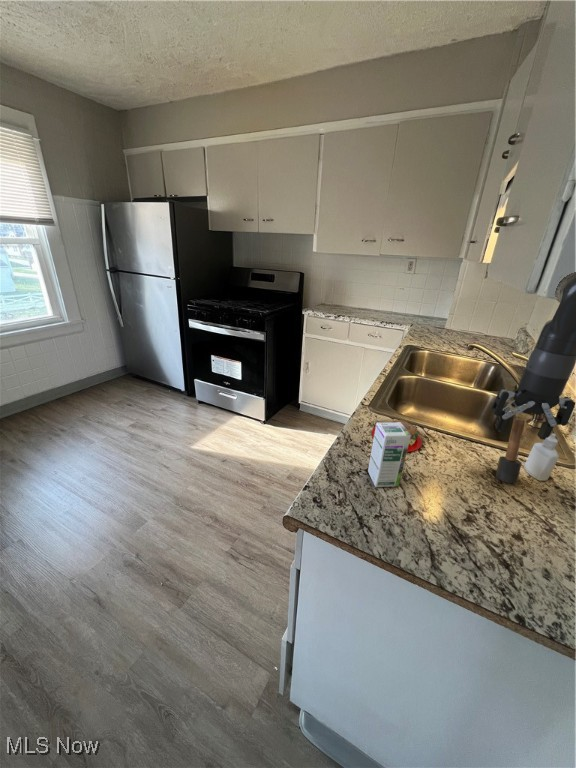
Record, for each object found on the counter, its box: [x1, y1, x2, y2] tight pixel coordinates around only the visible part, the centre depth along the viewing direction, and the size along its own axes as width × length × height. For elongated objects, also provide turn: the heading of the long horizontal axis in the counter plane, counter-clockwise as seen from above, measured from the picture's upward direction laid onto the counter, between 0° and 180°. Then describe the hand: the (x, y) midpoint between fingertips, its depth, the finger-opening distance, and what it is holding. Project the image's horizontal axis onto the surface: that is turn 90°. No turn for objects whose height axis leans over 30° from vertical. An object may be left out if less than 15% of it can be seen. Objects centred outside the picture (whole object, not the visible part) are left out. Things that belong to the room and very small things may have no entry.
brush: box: [495, 417, 526, 484], centre depth 75 cm, size 4×4×15 cm
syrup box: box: [367, 422, 411, 488], centre depth 72 cm, size 6×6×14 cm
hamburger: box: [371, 419, 423, 453], centre depth 90 cm, size 14×14×6 cm
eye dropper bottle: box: [523, 433, 560, 482], centre depth 77 cm, size 4×6×12 cm
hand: (519, 434), depth 73 cm, fingers open, 8 cm apart
